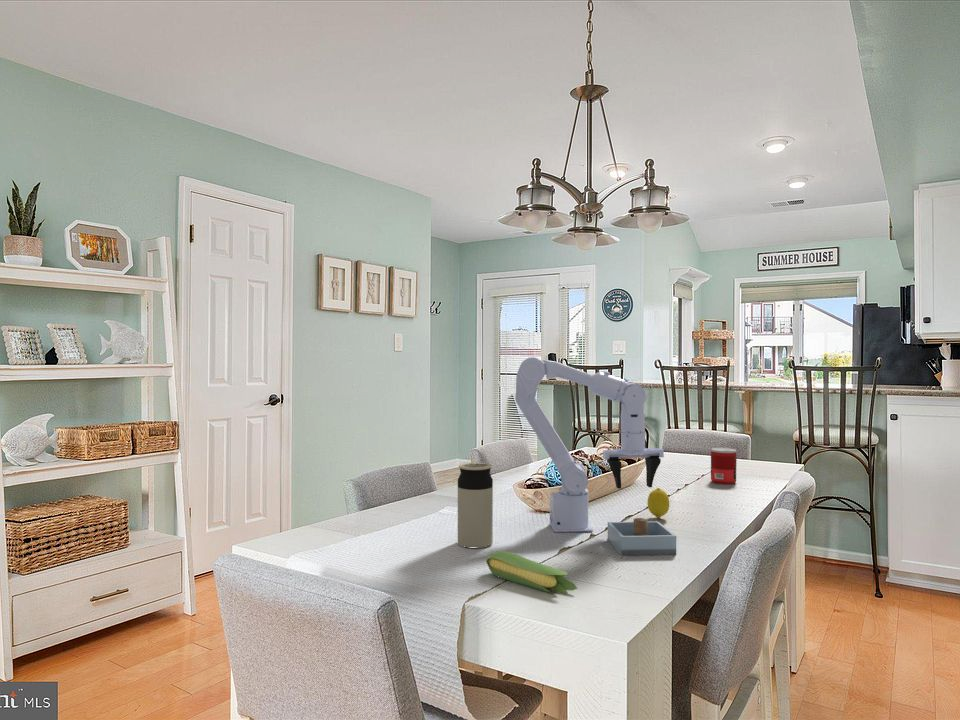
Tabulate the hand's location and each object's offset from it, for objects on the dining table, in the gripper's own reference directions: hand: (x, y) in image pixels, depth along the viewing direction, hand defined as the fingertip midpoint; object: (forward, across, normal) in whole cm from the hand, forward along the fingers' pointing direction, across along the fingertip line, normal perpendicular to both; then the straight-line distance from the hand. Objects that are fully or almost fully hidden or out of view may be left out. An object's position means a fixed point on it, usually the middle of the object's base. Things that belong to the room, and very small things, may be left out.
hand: (633, 487), depth 161 cm
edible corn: (+10, -31, -36) cm, 48 cm away
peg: (+10, -3, -14) cm, 17 cm away
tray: (+10, -3, -14) cm, 18 cm away
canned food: (+12, +46, +55) cm, 73 cm away
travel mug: (+10, -40, -10) cm, 42 cm away
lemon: (+11, +9, +10) cm, 17 cm away
